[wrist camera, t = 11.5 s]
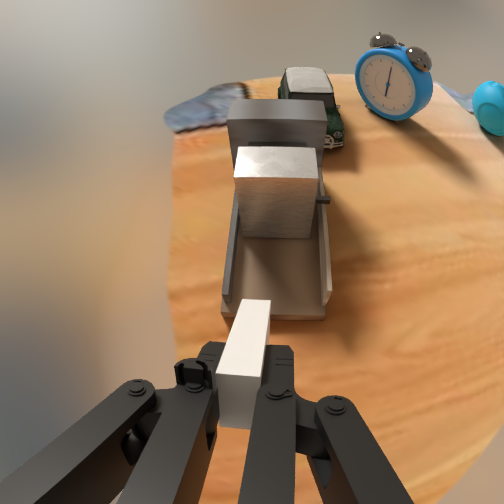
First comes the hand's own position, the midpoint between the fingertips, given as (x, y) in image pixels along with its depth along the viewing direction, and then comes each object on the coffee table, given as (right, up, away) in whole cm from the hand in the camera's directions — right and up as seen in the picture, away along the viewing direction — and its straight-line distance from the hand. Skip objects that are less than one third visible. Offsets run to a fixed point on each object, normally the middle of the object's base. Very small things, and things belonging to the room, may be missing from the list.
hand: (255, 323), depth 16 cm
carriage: (+3, +7, +17) cm, 19 cm away
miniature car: (+9, +25, +30) cm, 40 cm away
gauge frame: (+3, +6, +19) cm, 20 cm away
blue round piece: (+50, +30, +30) cm, 66 cm away
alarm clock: (+24, +29, +31) cm, 49 cm away
